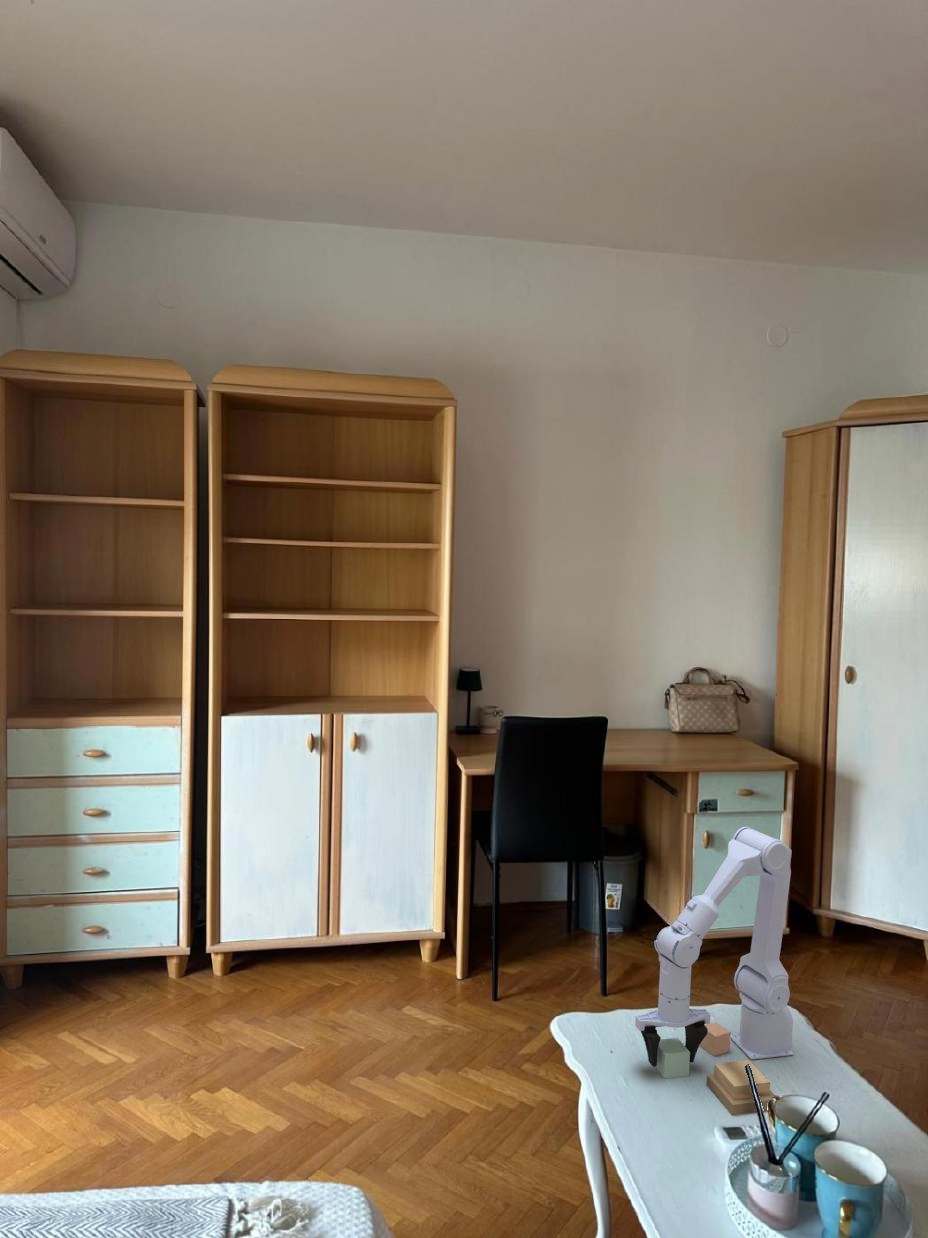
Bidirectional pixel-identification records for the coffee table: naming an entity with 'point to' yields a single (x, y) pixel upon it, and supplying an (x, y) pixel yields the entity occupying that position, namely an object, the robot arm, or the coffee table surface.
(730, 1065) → the slab top
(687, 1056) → the sage cube
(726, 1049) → the terracotta cube
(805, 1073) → the coffee table surface
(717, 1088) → the slab bottom
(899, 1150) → the coffee table surface
